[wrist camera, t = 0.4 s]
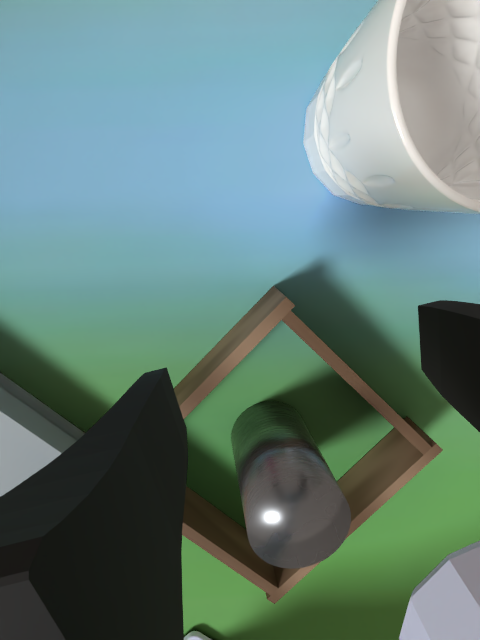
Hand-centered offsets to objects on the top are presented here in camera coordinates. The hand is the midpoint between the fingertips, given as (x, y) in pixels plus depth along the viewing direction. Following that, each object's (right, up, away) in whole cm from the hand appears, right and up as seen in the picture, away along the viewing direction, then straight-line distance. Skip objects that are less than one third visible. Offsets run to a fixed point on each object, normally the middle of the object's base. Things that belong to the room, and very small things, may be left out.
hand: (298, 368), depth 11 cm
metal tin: (0, -5, +12) cm, 13 cm away
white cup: (+5, +11, +9) cm, 14 cm away
